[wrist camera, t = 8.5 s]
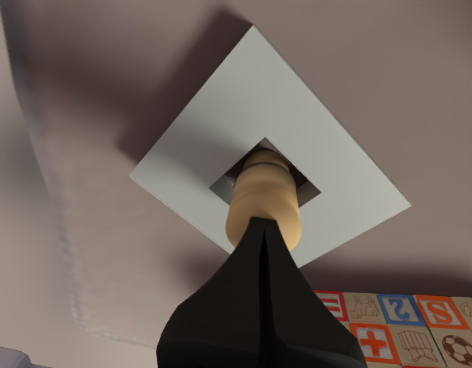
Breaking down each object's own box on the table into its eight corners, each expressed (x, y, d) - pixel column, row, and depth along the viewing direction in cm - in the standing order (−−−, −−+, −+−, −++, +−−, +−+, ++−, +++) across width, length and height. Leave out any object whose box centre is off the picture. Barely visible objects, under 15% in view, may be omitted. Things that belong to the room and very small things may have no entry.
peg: (304, 165, 18) (319, 225, 13) (271, 202, 20) (271, 268, 15) (258, 135, 17) (251, 185, 12) (228, 177, 19) (211, 236, 14)
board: (396, 185, 18) (411, 205, 16) (269, 261, 23) (269, 284, 21) (255, 25, 14) (252, 25, 12) (143, 160, 20) (128, 176, 18)
